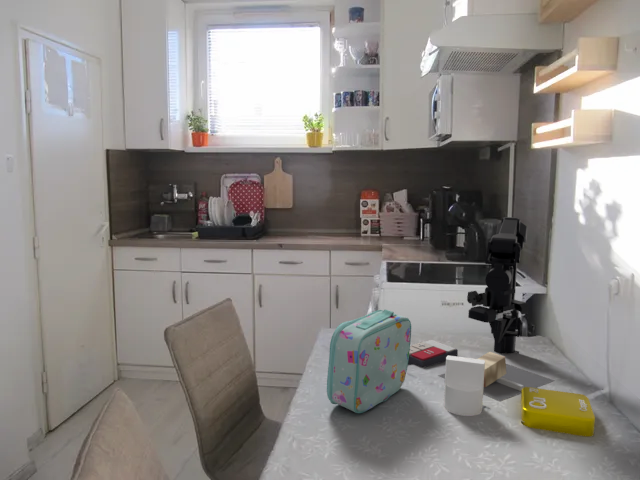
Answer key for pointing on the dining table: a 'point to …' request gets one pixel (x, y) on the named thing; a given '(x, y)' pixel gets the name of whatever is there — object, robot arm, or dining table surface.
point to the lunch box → (368, 360)
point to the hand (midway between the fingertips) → (497, 341)
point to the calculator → (430, 353)
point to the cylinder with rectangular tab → (464, 385)
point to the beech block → (493, 367)
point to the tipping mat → (512, 383)
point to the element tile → (557, 411)
